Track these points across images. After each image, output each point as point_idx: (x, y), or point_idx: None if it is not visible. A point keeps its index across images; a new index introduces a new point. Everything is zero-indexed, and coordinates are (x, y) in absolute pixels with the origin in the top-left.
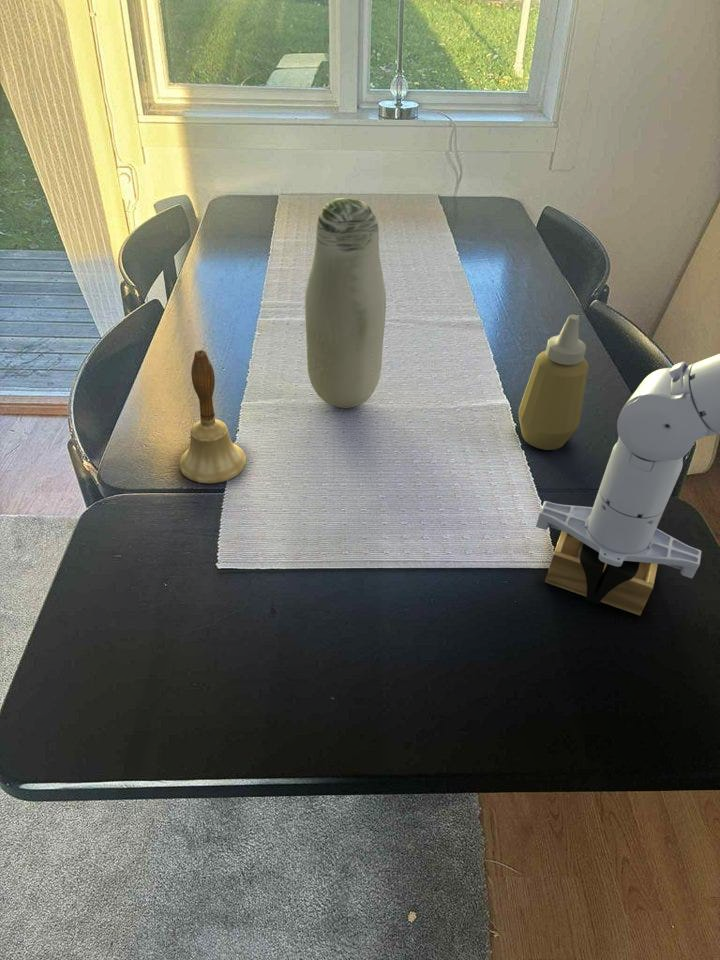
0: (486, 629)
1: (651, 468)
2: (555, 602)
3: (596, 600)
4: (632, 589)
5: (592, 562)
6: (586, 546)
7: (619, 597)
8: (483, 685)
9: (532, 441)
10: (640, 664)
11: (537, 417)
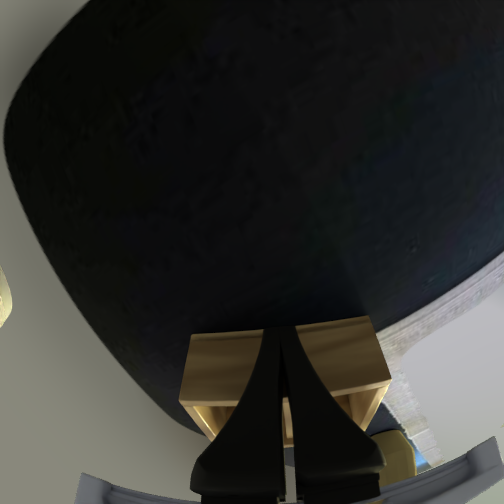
0: (451, 155)
1: None
2: (342, 288)
3: (271, 335)
4: (214, 381)
5: (343, 472)
6: (367, 480)
7: (233, 353)
8: (412, 15)
9: (393, 435)
10: (138, 243)
11: (402, 463)
